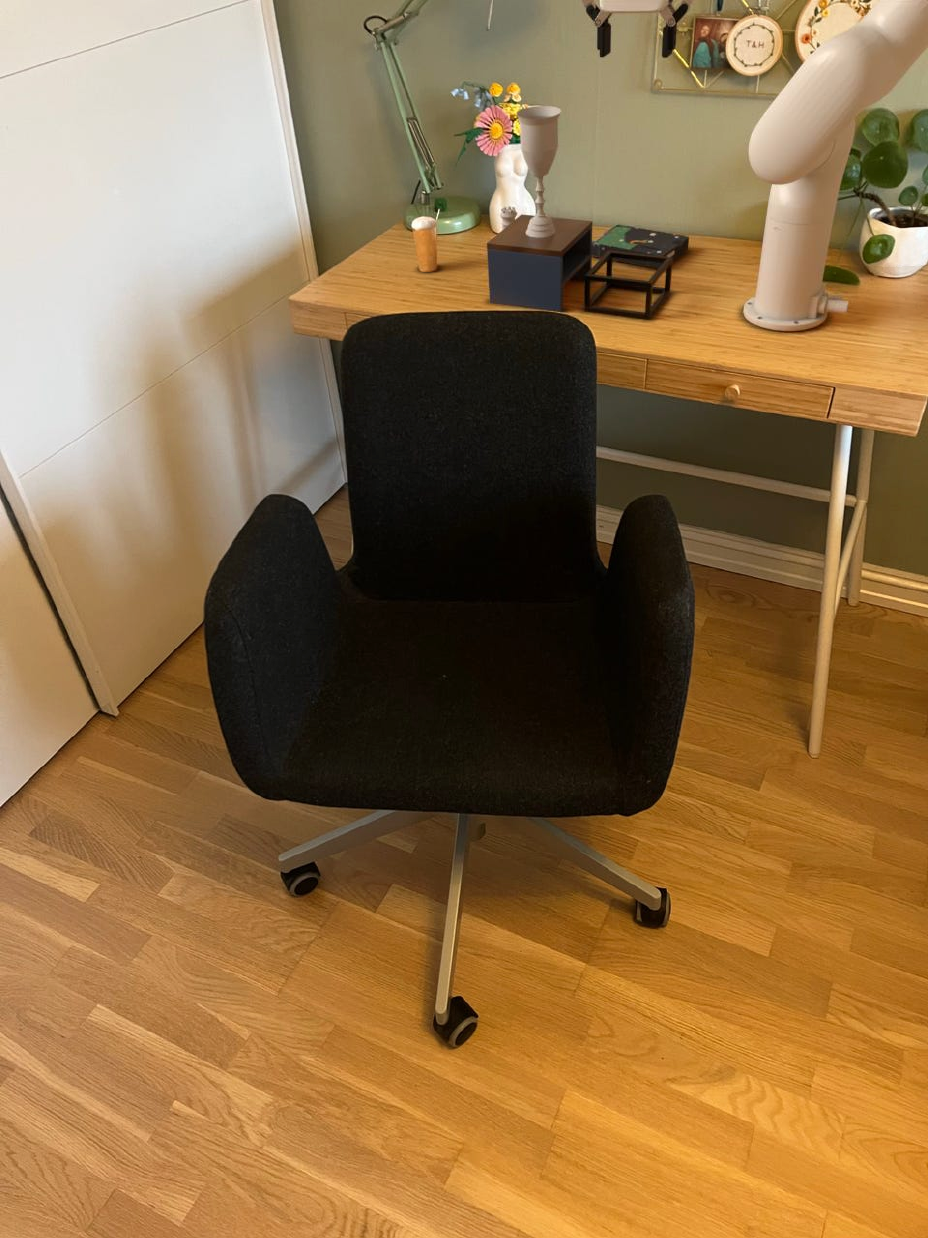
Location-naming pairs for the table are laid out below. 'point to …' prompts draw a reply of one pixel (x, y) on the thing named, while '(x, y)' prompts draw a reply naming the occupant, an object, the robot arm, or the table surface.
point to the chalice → (539, 157)
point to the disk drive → (640, 244)
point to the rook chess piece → (507, 216)
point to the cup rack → (628, 284)
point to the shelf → (538, 263)
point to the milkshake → (426, 242)
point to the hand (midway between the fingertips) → (635, 55)
